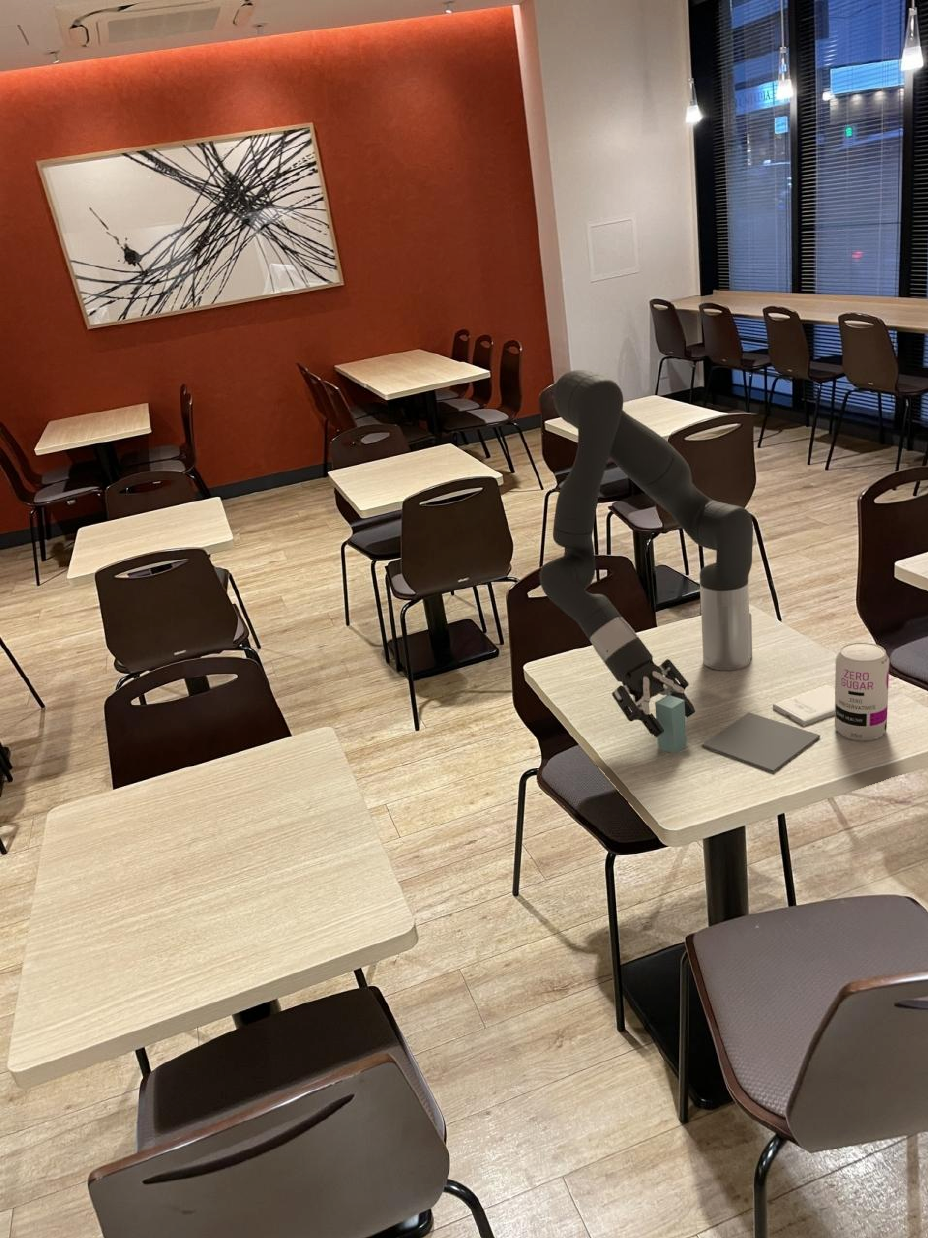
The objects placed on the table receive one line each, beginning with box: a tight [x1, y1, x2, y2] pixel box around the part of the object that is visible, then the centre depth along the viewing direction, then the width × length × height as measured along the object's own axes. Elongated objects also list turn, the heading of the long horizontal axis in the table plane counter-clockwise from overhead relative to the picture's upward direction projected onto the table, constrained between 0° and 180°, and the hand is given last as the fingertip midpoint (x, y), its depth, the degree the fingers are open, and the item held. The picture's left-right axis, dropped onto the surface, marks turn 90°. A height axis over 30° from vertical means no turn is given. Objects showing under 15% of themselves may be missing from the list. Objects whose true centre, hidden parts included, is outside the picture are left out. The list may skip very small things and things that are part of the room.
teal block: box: [654, 695, 688, 755], centre depth 162 cm, size 4×4×9 cm
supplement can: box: [834, 642, 890, 742], centre depth 158 cm, size 8×8×15 cm
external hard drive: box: [772, 684, 835, 727], centre depth 170 cm, size 2×8×12 cm
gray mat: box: [701, 711, 821, 774], centre depth 162 cm, size 14×14×1 cm
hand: (676, 724), depth 161 cm, fingers open, 8 cm apart
